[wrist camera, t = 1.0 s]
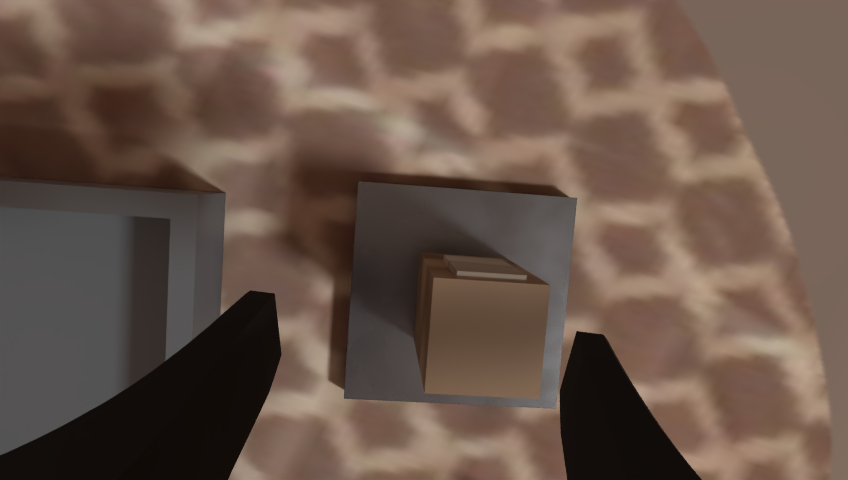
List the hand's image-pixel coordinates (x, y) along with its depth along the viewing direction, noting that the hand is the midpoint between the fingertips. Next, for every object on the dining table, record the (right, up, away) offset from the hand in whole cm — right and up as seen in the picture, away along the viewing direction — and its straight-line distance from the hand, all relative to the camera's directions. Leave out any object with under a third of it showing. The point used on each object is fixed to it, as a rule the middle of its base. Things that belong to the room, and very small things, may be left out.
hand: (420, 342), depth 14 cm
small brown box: (+2, 0, +13) cm, 13 cm away
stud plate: (+2, 0, +14) cm, 14 cm away
